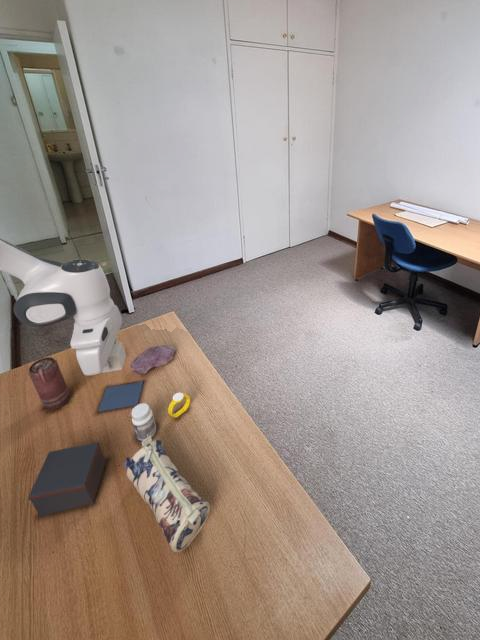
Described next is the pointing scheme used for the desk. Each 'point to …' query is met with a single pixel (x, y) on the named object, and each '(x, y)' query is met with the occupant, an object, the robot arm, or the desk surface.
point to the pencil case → (167, 494)
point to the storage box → (68, 479)
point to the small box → (116, 357)
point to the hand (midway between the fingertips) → (110, 360)
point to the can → (49, 383)
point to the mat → (121, 396)
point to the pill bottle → (143, 421)
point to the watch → (176, 399)
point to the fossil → (152, 358)
